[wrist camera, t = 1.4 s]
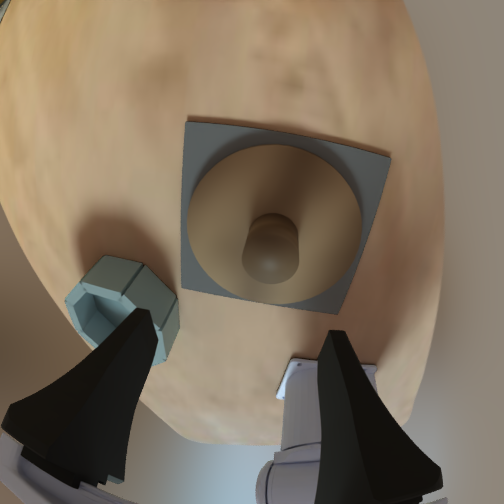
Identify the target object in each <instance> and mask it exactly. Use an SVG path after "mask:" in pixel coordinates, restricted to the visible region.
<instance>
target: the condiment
mask: <svg viewBox="0 0 504 504" xmlns="http://www.w3.org/2000/svg"><path fill="white" fill-rule="evenodd" d="M9 2H10V0H0V8H1V9H0V22H1V19H2V17H3V15H4V13H5V10H6V8H7V6H8V4H9ZM2 5H3V6H2Z"/></svg>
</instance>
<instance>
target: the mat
mask: <svg viewBox="0 0 504 504" xmlns="http://www.w3.org/2000/svg"><path fill="white" fill-rule="evenodd" d="M263 144H281V145H290V146H294V147H298V148H302V149H304V150H307V151H309V152H312V153H314V154H315V155H317V156H319V157H321V158H322V159H324V160H325V161H327V162H328V163H329V164H331V165H332V166H333V167H334V168H335V169H336V170H337V171H338V172H339V173H340V174H341V175H342V177H343V178H344V179H345V181H346V182H347V183H348V185H349V186H350V188H351V190H352V192H353V194H354V196H355V198H356V200H357V203H358V206H359V209H360V214H361V220H362V234H361V242H360V245H359V249H358V252H357V255H356V257H355V259H354V261H353V263H352V264H351V266H350V268H349V269H348V271H347V272H346V273H345V274H344V275H343V277H342V278H341V279H340V280H339V281H338V282H336V283H335V284H334V285H333V286H331V287H330V288H329V289H327V290H326V291H324V292H322V293H321V294H319V295H317V296H314V297H312V298H310V299H306V300H303V301H300V302H295V303H288V304H270V305H276V306H282V307H288V308H295V309H301V310H308V311H315V312H322V313H329V314H336V315H338V313H339V310H340V308H341V306H342V303H343V301H344V299H345V296H346V294H347V291H348V289H349V287H350V284H351V282H352V279H353V277H354V274H355V271H356V269H357V266H358V264H359V261H360V258H361V255H362V253H363V250H364V247H365V244H366V242H367V239H368V236H369V233H370V230H371V227H372V224H373V221H374V218H375V215H376V212H377V208H378V205H379V202H380V199H381V195H382V192H383V188H384V185H385V181H386V178H387V174H388V170H389V167H390V163H391V158H390V157H386V156H383V155H380V154H376V153H373V152H369V151H365V150H362V149H358V148H354V147H350V146H346V145H342V144H338V143H334V142H329V141H325V140H320V139H316V138H311V137H306V136H301V135H295V134H290V133H284V132H278V131H272V130H265V129H258V128H251V127H243V126H235V125H225V124H215V123H203V122H188V121H187V122H185V135H184V150H183V168H182V193H181V284H182V288H184V289H189V290H194V291H199V292H204V293H209V294H214V295H219V296H224V297H230V298H235V299H241V300H246V301H250V300H247V299H244V298H241V297H239V296H237V295H235V294H233V293H231V292H229V291H227V290H226V289H224V288H223V287H221V286H220V285H219V284H217V283H216V282H215V281H214V280H213V279H212V278H211V277H210V276H209V275H208V274H207V273H206V272H205V271H204V270H203V268H202V267H201V265H200V264H199V262H198V261H197V259H196V257H195V255H194V253H193V251H192V248H191V245H190V242H189V238H188V233H187V214H188V208H189V204H190V201H191V198H192V196H193V193H194V191H195V189H196V187H197V186H198V184H199V182H200V181H201V180H202V179H203V177H204V176H205V175H206V174H207V173H208V172H209V171H210V170H211V169H212V168H213V167H214V166H215V165H216V164H217V163H218V162H220V161H221V160H223V159H224V158H226V157H227V156H229V155H231V154H233V153H235V152H237V151H239V150H242V149H245V148H248V147H251V146H257V145H263ZM252 302H255V301H252ZM258 303H259V302H258ZM264 304H266V303H264Z"/></svg>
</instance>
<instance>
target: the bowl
mask: <svg viewBox="0 0 504 504" xmlns="http://www.w3.org/2000/svg"><path fill="white" fill-rule="evenodd" d="M65 304H66V307H67V309H68V312H69V314H70V317H71V320H72V322H73V324H74V327H75V329H76V330H77V331H78V333H79V334H80V335H81V336H82V337H83V338H84V339H85V340H86V341H88V342H89V343H90V344H91V345H92V346H93V347H94V348H97V347H98V346H99V345H100V344H101V343H102V342H103V341H104V340H105V339H106V338H107V337H108V336H109V335H110V334H111V333H112V332H113V331H114V330H115V329H116V328H117V327H118V326H119V325H120V324H121V322H122V321H123V320H124V319H125V318H126V317H127V316H128V315H129V314H130V313H131V312H132V311H133V310H134V309H135V308H136V307H137V308H142V309H148V310H150V313H151V317H152V320H153V323H154V327H155V330H156V333H157V337H158V340H159V341H158V345H157V349H156V353H155V357H154V360H153V363H152V366H154V365H157V364H160V363H163V362H165V361H166V360H167V357H168V355H169V352H170V350H171V348H172V345H173V343H174V340H175V338H176V336H177V333H178V331H179V329H180V325H179V311H178V299H176V295H175V294H174V293H173V292H172V291H171V290H170V289H169V288H168V287H167V286H166V285H165V284H164V283H163V282H162V281H161V280H160V279H159V278H158V277H157V276H156V275H155V274H154V273H153V272H152V271H151V270H150V269H149V268H148V267H147V266H146V265H145V266H144V267H143V264H142V263H140V262H135V261H130V260H126V259H121V258H117V257H112V256H108V255H105V256H103V257H102V258H101V259H100V260H99V261H98V262H97V263H96V264H95V265H94V266H93V267H92V268H91V269H90V270H89V271H88V273H87V274H86V275H85V276H84V277H83V278H82V279H81V280H80V281H79V283H78V284H77V285H76V286H75V287H74V288H73V290H72V291H71V292H70V293H69V294H68V296H67V297H66V298H65ZM152 366H151V367H152Z"/></svg>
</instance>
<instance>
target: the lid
mask: <svg viewBox="0 0 504 504" xmlns="http://www.w3.org/2000/svg"><path fill="white" fill-rule="evenodd" d="M187 233H188V238H189V242H190V245H191V248H192V251H193V253H194V255H195V257H196V259H197V261H198V262H199V264H200V265H201V267H202V268H203V270H204V271H205V272H206V273H207V274H208V275H209V276H210V277H211V278H212V279H213V280H214V281H215V282H216V283H217V284H219V285H220V286H221V287H223V288H224V289H226V290H227V291H229V292H231V293H233V294H235V295H237V296H239V297H241V298H244V299H247V300H250V301H255V302H259V303H266V304H288V303H295V302H300V301H303V300H306V299H310V298H312V297H314V296H317V295H319V294H321V293H322V292H324V291H326V290H327V289H329V288H330V287H331V286H333V285H334V284H335V283H336V282H338V281H339V280H340V279H341V278H342V277H343V275H344V274H345V273H346V272H347V271H348V269H349V268H350V266H351V264H352V263H353V261H354V259H355V257H356V255H357V252H358V249H359V245H360V242H361V234H362V220H361V214H360V209H359V206H358V203H357V200H356V198H355V196H354V194H353V192H352V190H351V188H350V186H349V185H348V183H347V182H346V181H345V179H344V178H343V177H342V175H341V174H340V173H339V172H338V171H337V170H336V169H335V168H334V167H333V166H332V165H331V164H329V163H328V162H327V161H325V160H324V159H322V158H321V157H319V156H317V155H315V154H314V153H312V152H309V151H307V150H304V149H302V148H298V147H294V146H290V145H281V144H263V145H257V146H251V147H248V148H245V149H242V150H239V151H237V152H235V153H233V154H231V155H229V156H227V157H226V158H224V159H223V160H221V161H220V162H218V163H217V164H216V165H215V166H214V167H213V168H212V169H211V170H210V171H209V172H208V173H207V174H206V175H205V176H204V177H203V179H202V180H201V181H200V182H199V184H198V186H197V187H196V189H195V191H194V193H193V196H192V198H191V201H190V204H189V208H188V214H187Z"/></svg>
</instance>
